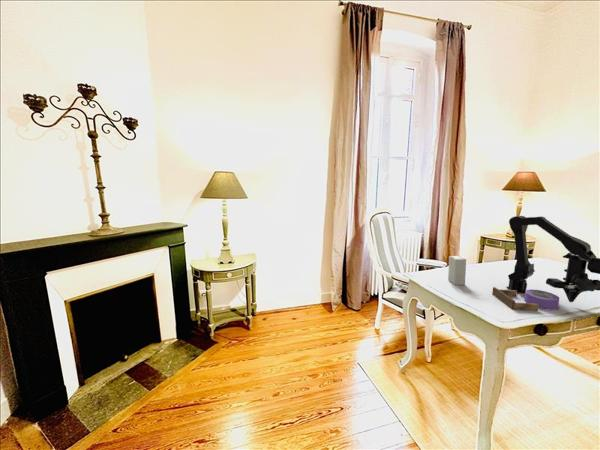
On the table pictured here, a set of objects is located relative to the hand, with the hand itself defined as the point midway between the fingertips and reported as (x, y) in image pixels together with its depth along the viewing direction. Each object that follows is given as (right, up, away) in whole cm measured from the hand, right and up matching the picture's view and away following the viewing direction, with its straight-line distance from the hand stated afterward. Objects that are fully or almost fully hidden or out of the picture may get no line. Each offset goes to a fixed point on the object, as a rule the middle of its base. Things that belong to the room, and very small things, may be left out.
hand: (570, 301), depth 120 cm
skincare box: (-35, +2, +30) cm, 46 cm away
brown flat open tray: (-23, -1, +4) cm, 23 cm away
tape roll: (-12, -2, +2) cm, 12 cm away
